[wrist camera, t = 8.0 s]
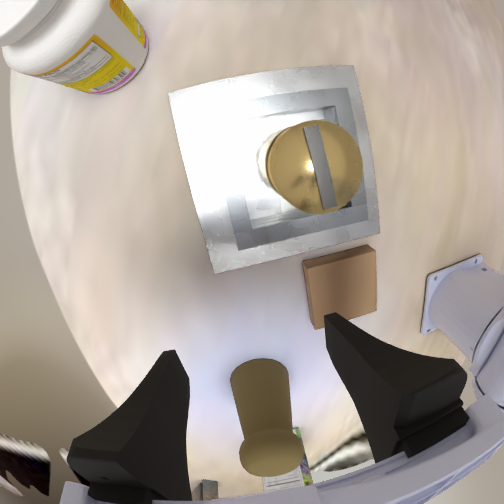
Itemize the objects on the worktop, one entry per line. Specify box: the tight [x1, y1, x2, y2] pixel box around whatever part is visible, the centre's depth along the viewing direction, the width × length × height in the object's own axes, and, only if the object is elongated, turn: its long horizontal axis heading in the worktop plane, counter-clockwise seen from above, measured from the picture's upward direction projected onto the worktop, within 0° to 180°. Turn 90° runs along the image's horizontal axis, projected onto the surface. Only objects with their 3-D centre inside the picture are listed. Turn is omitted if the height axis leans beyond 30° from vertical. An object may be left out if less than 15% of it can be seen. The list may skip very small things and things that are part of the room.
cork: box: [230, 359, 304, 477], centre depth 22 cm, size 6×6×11 cm
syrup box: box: [262, 428, 313, 493], centre depth 25 cm, size 6×6×14 cm
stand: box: [302, 245, 377, 330], centre depth 23 cm, size 6×6×2 cm
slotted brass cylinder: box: [258, 120, 363, 214], centre depth 17 cm, size 5×5×6 cm
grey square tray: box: [168, 65, 380, 274], centre depth 19 cm, size 14×14×3 cm
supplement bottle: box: [0, 0, 148, 94], centre depth 10 cm, size 7×7×13 cm
